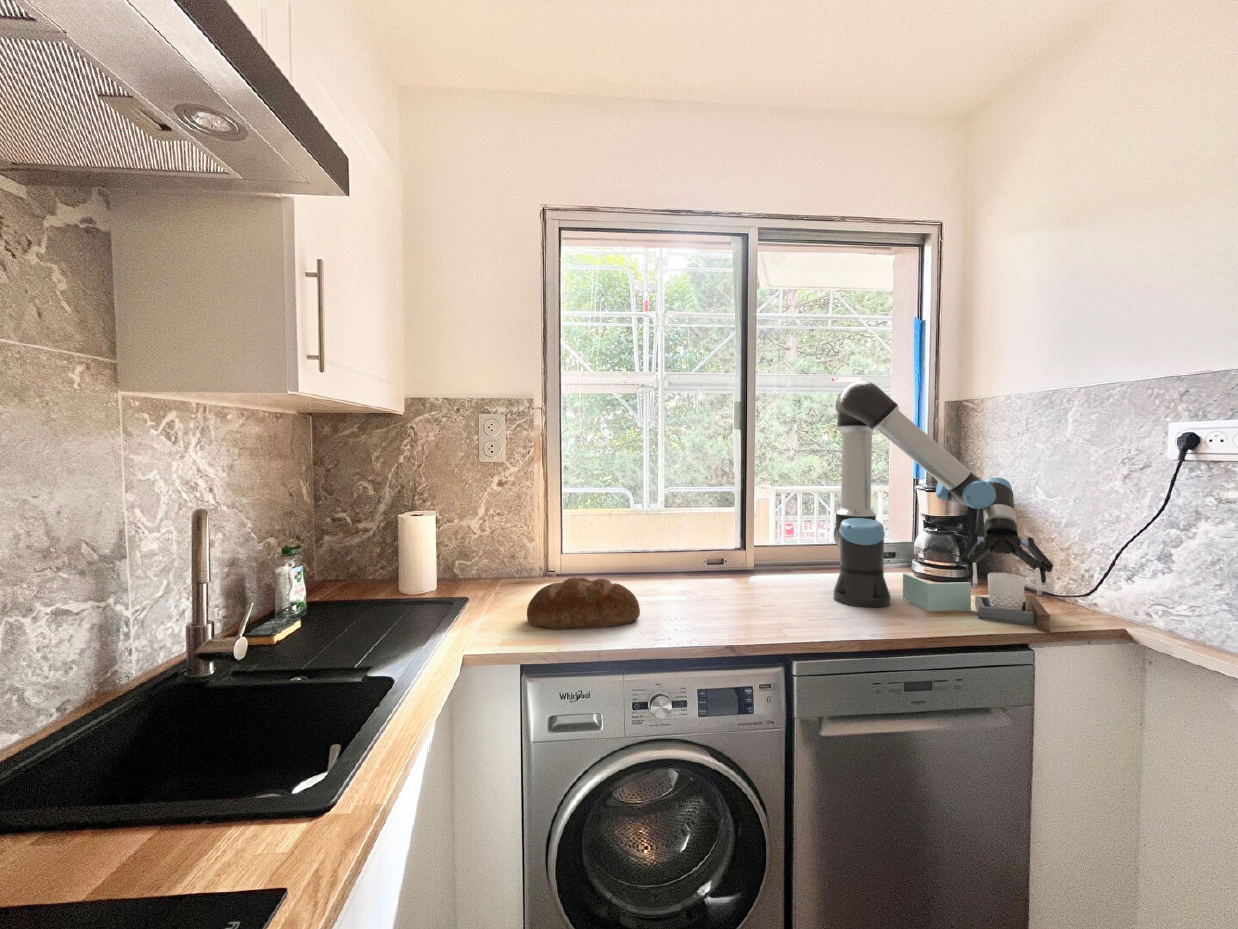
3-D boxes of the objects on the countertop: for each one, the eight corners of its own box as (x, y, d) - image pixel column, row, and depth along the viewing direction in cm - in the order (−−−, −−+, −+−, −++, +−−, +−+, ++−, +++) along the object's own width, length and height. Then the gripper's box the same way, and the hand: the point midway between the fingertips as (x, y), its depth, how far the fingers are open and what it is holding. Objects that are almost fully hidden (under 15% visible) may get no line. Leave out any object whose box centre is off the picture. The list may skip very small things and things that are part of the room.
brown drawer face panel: (1039, 630, 127) (1039, 614, 127) (1025, 609, 145) (1025, 594, 145) (1049, 632, 126) (1049, 615, 126) (1034, 610, 144) (1034, 595, 144)
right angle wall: (970, 610, 144) (971, 583, 144) (927, 611, 144) (927, 583, 144) (942, 598, 156) (942, 573, 156) (902, 598, 156) (902, 573, 156)
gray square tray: (979, 619, 136) (979, 607, 136) (975, 606, 147) (975, 595, 147) (1036, 626, 131) (1036, 613, 131) (1027, 612, 141) (1027, 601, 141)
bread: (528, 614, 143) (528, 573, 143) (634, 610, 147) (634, 569, 146) (525, 634, 128) (524, 587, 127) (644, 629, 131) (644, 583, 131)
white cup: (1031, 619, 134) (1031, 580, 134) (996, 617, 136) (996, 579, 136) (1014, 610, 142) (1014, 573, 142) (982, 608, 143) (982, 572, 143)
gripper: (1054, 535, 145) (1066, 603, 133) (947, 529, 158) (949, 590, 145) (1058, 518, 141) (1071, 587, 128) (948, 513, 153) (950, 575, 140)
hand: (1007, 589), depth 137 cm, fingers open, 13 cm apart
